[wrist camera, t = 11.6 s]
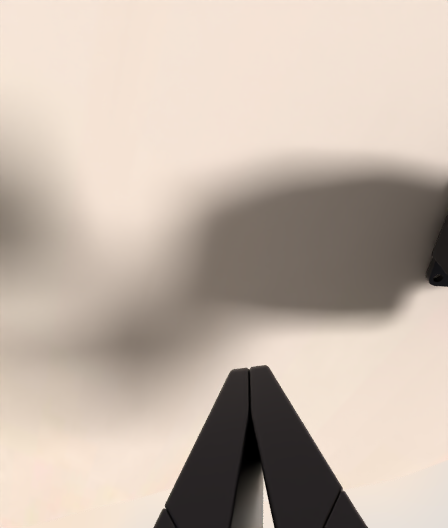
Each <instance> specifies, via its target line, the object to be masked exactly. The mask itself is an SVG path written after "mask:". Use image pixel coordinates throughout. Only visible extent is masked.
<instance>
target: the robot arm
mask: <svg viewBox="0 0 448 528" xmlns="http://www.w3.org/2000/svg"><path fill="white" fill-rule="evenodd" d="M432 256H433V258H432V260H431V263H430V265H429V268H428V270H427V273H426V279H427V280H428V282H429V283H430V284H431V285H434V286H446V287H448V214H447V216H446V219H445V221H444V224H443V226H442V229H441V232H440V234H439V237H438V239H437V242H436V245H435V247H434V250H433V252H432ZM439 274H440V275H439ZM436 275H439V276H438V277H437V278H434V277H435V276H436ZM263 476H264V481H265V486H266V490H267V495H268V500H269V504H270V509H271V514H272V518H273V523H274V528H368V527H367V526H366V524H365V523H364V521H363V519H362V518H361V516H360V515H359V513H358V512H357V510H356V509H355V507H354V506H353V504H352V502H351V501H350V499H349V497H348V496H347V494H346V493H345V491H343V488H342V486H341V485H340V483H339V481H338V480H337V478H336V476H335V475H334V473H333V472H332V470H331V468H330V467H329V465H328V463H327V462H326V460H325V458H324V457H323V455H322V454H321V452H320V450H319V449H318V447H317V445H316V444H315V442H314V440H313V439H312V437H311V436H310V434H309V432H308V431H307V429H306V427H305V426H304V424H303V422H302V421H301V419H300V418H299V416H298V414H297V413H296V411H295V409H294V408H293V406H292V404H291V403H290V401H289V400H288V398H287V396H286V395H285V393H284V391H283V390H282V388H281V386H280V385H279V383H278V382H277V380H276V378H275V377H274V375H273V373H272V372H271V370H270V368H269V367H268V366H266V365H263V366H256V367H251V368H250V370H249V369H248V368H241V369H233V370H232V371H230V373H229V375H228V377H227V379H226V381H225V383H224V385H223V387H222V389H221V391H220V393H219V395H218V397H217V399H216V402H215V404H214V406H213V408H212V410H211V412H210V414H209V416H208V418H207V420H206V422H205V424H204V426H203V428H202V430H201V432H200V434H199V436H198V438H197V440H196V442H195V444H194V446H193V448H192V451H191V453H190V455H189V457H188V459H187V461H186V463H185V465H184V467H183V469H182V471H181V473H180V475H179V477H178V479H177V481H176V483H175V485H174V487H173V489H172V491H171V493H170V496H169V498H168V500H167V502H166V504H165V508H166V509H163V510H162V512H161V513H160V515H159V518H158V520H157V522H156V524H155V526H154V528H263Z"/></svg>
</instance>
